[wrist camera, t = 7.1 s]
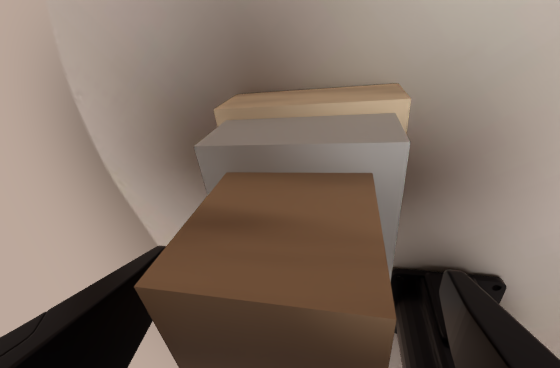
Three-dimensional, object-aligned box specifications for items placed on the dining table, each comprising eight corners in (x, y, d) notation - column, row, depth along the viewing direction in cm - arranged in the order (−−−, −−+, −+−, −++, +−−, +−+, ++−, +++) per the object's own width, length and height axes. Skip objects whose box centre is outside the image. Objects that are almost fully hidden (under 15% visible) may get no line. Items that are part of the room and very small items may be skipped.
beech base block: (383, 220, 16) (390, 256, 14) (258, 215, 18) (244, 245, 16) (398, 83, 12) (411, 98, 10) (237, 94, 14) (213, 109, 12)
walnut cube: (365, 281, 11) (375, 441, 7) (249, 269, 12) (197, 400, 8) (372, 172, 8) (396, 318, 4) (226, 172, 10) (133, 286, 5)
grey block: (380, 248, 14) (387, 299, 11) (251, 239, 15) (232, 282, 13) (395, 112, 10) (410, 141, 8) (226, 120, 12) (193, 146, 9)
